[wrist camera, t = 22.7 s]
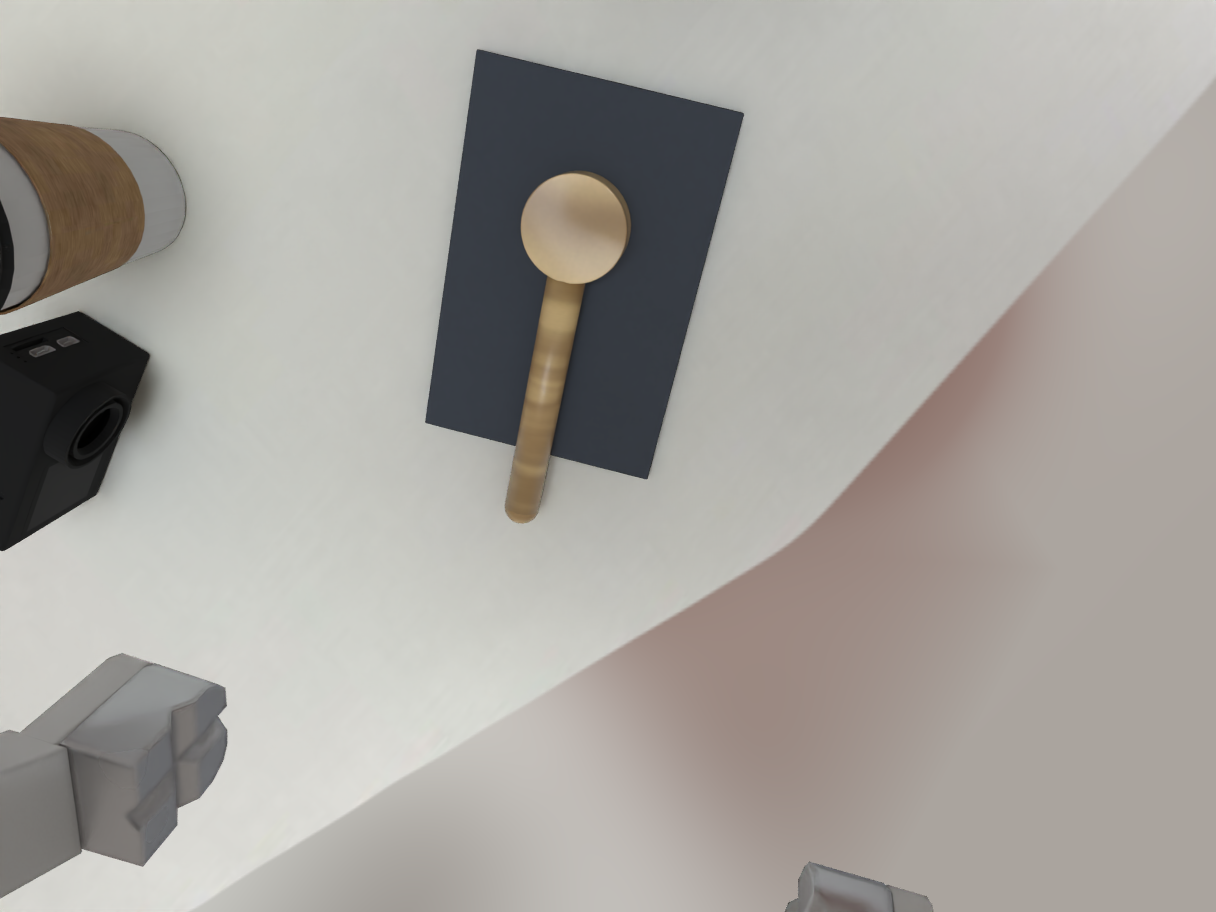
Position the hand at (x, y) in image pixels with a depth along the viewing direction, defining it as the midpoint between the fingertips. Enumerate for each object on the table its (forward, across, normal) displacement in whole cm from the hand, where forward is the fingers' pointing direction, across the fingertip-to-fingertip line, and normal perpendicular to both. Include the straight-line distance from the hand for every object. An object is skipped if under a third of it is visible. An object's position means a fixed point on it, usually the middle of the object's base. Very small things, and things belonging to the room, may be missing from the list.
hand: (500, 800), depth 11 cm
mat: (+31, +6, +1) cm, 32 cm away
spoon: (+30, +6, +5) cm, 31 cm away
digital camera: (+29, +31, +14) cm, 45 cm away
